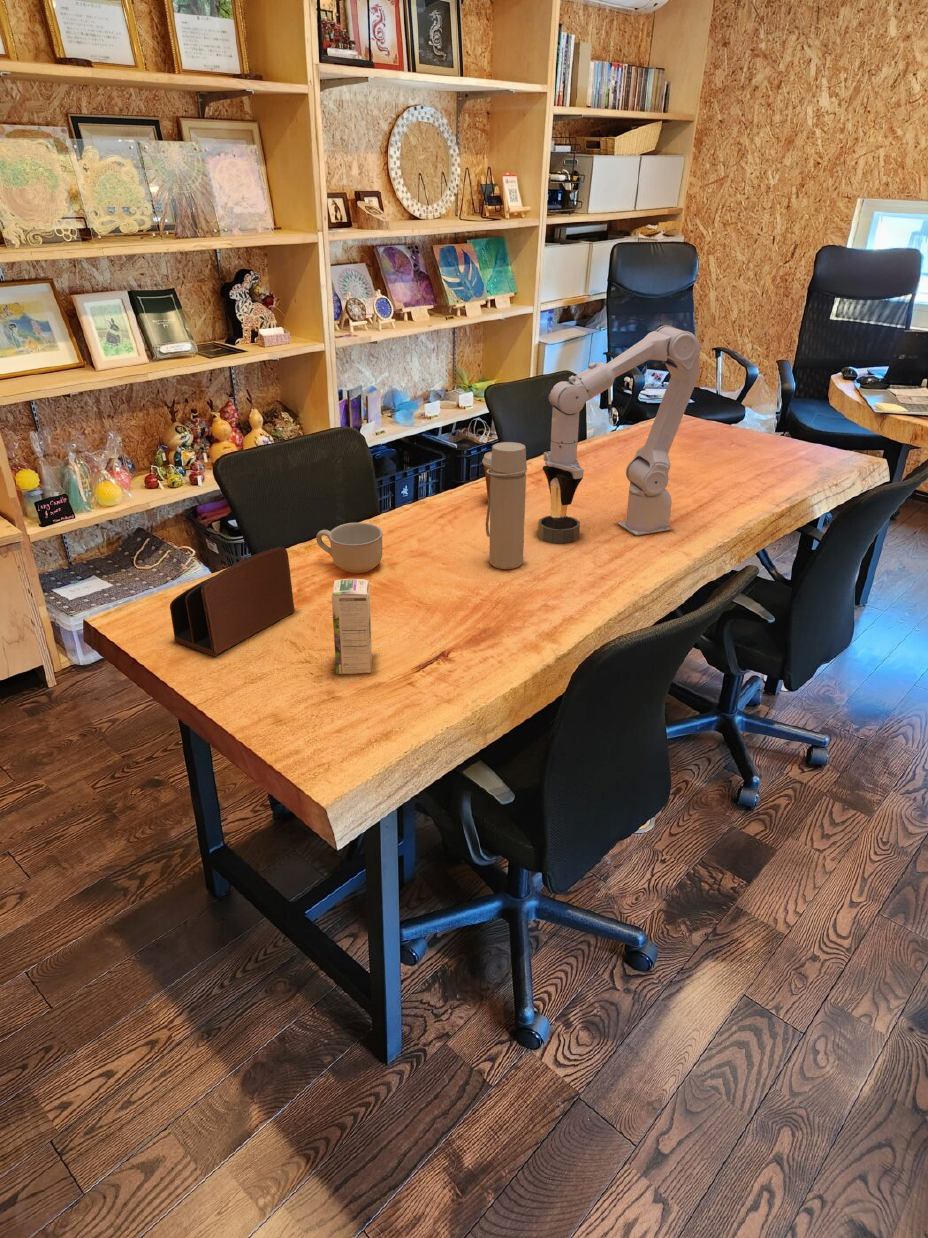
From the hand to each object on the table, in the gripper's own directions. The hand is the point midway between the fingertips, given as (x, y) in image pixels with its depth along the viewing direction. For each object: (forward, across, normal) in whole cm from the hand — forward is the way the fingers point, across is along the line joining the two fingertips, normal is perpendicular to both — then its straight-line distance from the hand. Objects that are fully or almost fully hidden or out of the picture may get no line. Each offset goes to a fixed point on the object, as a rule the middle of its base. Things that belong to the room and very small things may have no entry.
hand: (560, 500), depth 183 cm
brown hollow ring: (+8, 0, 0) cm, 8 cm away
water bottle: (+8, +9, -18) cm, 22 cm away
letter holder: (+8, +17, -74) cm, 76 cm away
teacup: (+8, -1, -48) cm, 49 cm away
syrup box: (+8, +38, -58) cm, 70 cm away
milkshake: (+4, 0, 0) cm, 4 cm away
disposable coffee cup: (+8, -25, -3) cm, 27 cm away
